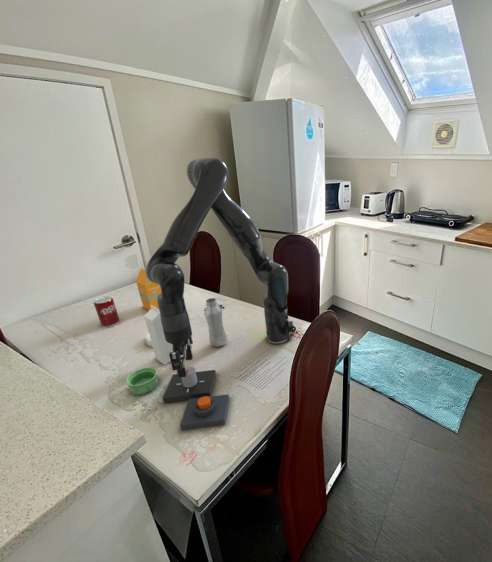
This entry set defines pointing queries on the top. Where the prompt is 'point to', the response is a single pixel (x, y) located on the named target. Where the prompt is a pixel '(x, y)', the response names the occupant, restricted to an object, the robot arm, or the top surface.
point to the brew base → (181, 393)
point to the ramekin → (142, 380)
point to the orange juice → (147, 290)
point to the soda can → (106, 311)
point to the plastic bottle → (215, 323)
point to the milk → (157, 335)
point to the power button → (204, 403)
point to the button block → (205, 413)
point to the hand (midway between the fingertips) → (186, 367)
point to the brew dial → (189, 377)
